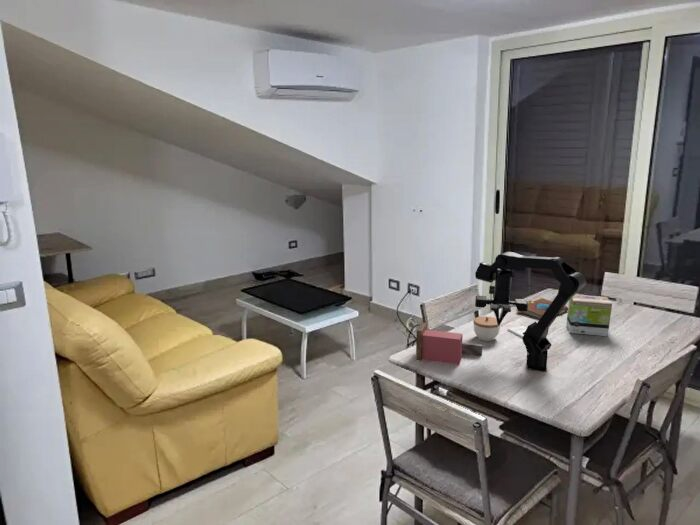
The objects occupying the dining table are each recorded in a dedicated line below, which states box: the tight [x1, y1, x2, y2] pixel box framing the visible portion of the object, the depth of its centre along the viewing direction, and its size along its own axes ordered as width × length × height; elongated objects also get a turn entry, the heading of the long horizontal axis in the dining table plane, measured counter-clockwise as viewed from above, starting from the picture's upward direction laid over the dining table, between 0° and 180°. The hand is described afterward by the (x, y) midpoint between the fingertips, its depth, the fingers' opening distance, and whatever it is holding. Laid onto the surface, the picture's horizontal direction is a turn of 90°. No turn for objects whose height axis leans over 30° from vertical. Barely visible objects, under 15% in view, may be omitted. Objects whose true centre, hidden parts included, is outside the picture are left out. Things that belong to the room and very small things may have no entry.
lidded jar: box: [473, 315, 501, 342], centre depth 213 cm, size 11×11×9 cm
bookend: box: [415, 322, 483, 362], centre depth 195 cm, size 23×13×12 cm, turn 71°
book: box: [516, 297, 568, 321], centre depth 246 cm, size 16×25×5 cm, turn 127°
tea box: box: [565, 294, 613, 337], centre depth 219 cm, size 15×10×15 cm
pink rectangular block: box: [422, 329, 463, 366], centre depth 194 cm, size 14×6×10 cm, turn 71°
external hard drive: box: [507, 325, 527, 339], centre depth 218 cm, size 2×8×12 cm
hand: (498, 324), depth 196 cm, fingers closed
